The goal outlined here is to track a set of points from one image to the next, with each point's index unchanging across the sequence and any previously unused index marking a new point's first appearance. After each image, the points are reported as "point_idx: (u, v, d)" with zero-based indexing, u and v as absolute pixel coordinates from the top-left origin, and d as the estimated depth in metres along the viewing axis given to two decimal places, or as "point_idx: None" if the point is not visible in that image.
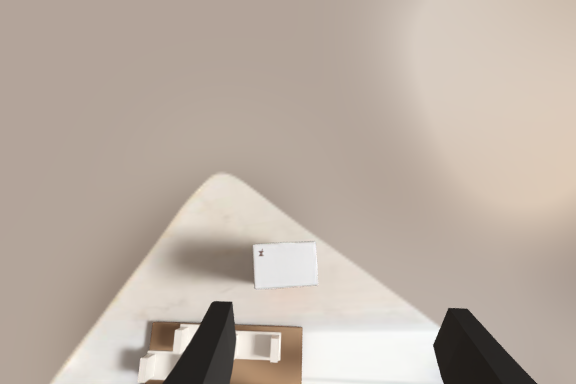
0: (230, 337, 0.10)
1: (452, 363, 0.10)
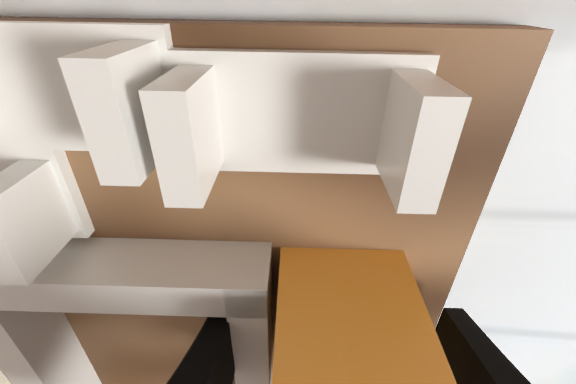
0: None
1: None
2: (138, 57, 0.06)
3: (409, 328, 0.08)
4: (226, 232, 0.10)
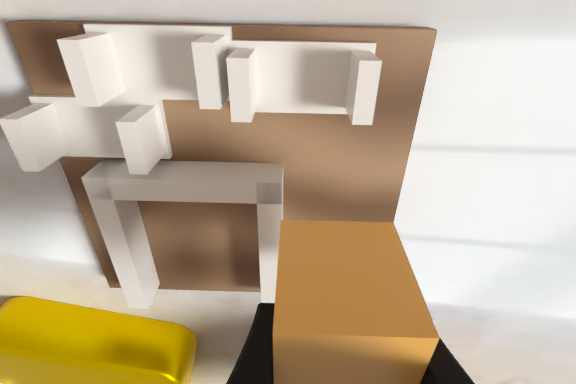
0: None
1: None
2: (220, 43, 0.13)
3: (395, 285, 0.09)
4: (255, 156, 0.17)
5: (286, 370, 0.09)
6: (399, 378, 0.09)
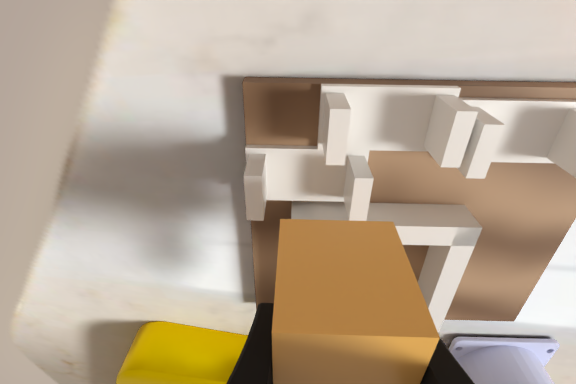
0: None
1: None
2: None
3: (395, 284, 0.09)
4: (440, 198, 0.18)
5: (285, 369, 0.09)
6: (399, 378, 0.09)
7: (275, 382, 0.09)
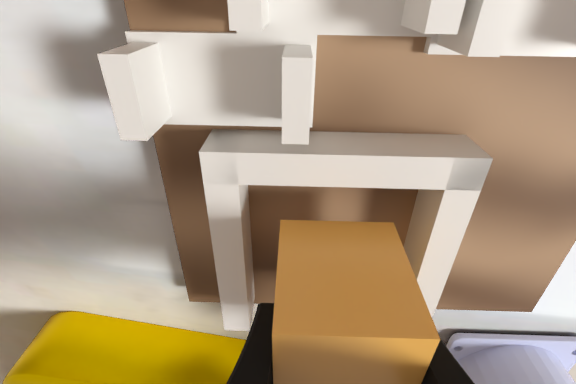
0: None
1: None
2: None
3: (396, 286, 0.09)
4: (429, 124, 0.12)
5: (286, 371, 0.09)
6: (400, 380, 0.09)
7: (275, 383, 0.09)
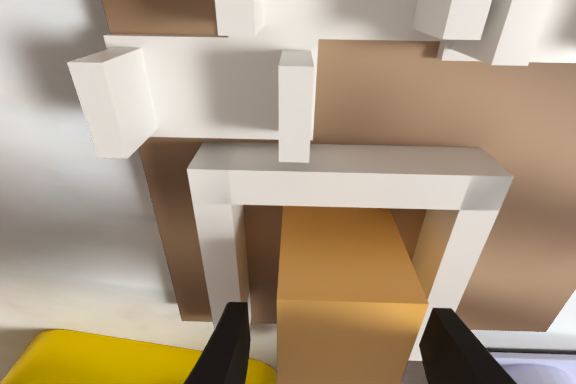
0: (246, 337, 0.10)
1: (436, 362, 0.10)
2: None
3: (390, 260, 0.10)
4: (441, 136, 0.11)
5: (289, 337, 0.09)
6: (393, 345, 0.10)
7: (279, 349, 0.10)
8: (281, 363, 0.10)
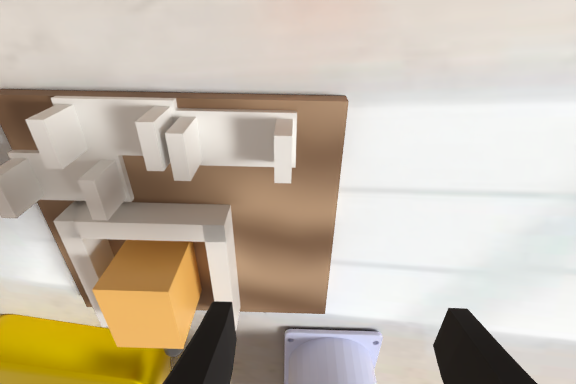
0: (230, 337, 0.10)
1: (453, 363, 0.10)
2: (163, 117, 0.15)
3: (166, 269, 0.18)
4: (205, 199, 0.19)
5: (107, 309, 0.18)
6: (163, 314, 0.18)
7: (105, 317, 0.18)
8: (110, 325, 0.19)
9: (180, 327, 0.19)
